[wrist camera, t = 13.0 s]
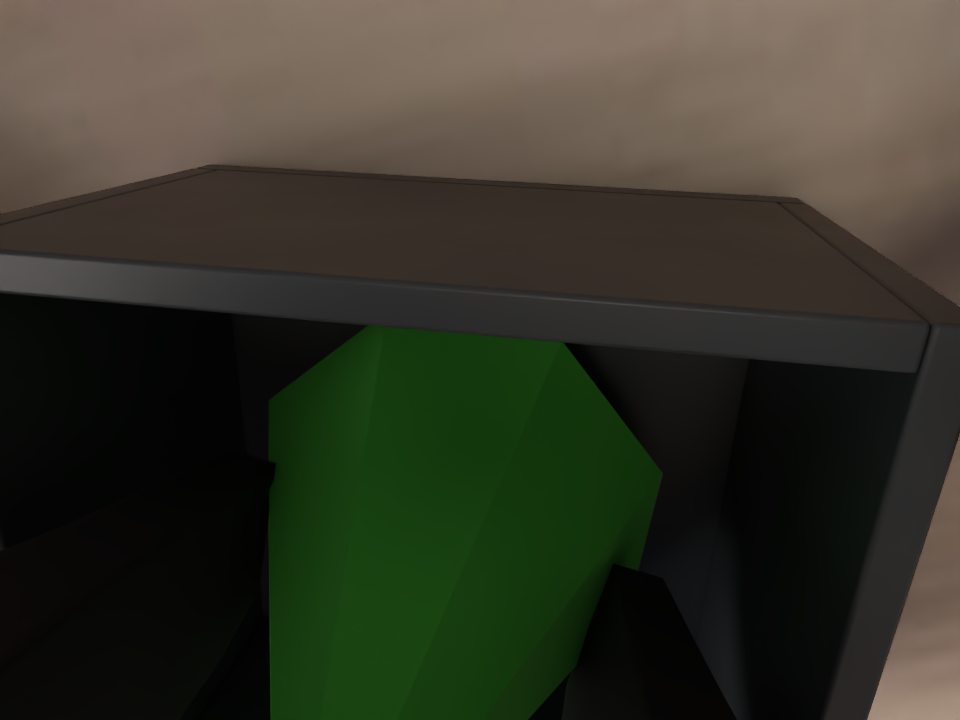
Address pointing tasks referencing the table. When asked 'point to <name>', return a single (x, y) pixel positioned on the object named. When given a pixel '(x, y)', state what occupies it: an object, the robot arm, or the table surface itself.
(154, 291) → the bin
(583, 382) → the gemstone
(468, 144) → the table surface
